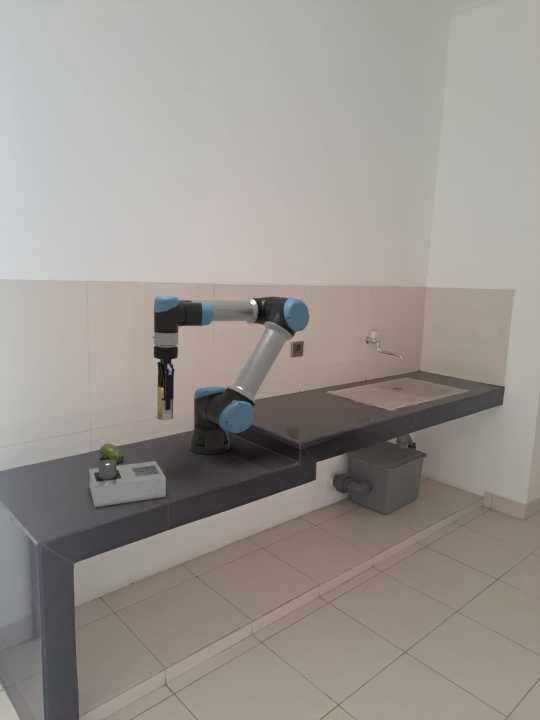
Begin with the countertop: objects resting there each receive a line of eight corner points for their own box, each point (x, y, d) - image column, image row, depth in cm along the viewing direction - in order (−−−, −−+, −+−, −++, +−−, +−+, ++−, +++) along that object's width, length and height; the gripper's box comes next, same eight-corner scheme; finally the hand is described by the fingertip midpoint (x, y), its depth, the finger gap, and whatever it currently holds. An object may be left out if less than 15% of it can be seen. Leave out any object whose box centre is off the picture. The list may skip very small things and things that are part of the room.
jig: (155, 479, 167) (155, 449, 165) (165, 496, 154) (165, 464, 153) (89, 487, 159) (88, 456, 157) (94, 507, 146) (93, 473, 145)
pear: (110, 439, 186) (128, 450, 181) (108, 453, 187) (126, 464, 182) (96, 443, 182) (115, 454, 176) (95, 457, 183) (113, 468, 178)
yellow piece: (171, 415, 172) (171, 385, 171) (174, 419, 168) (174, 388, 166) (155, 416, 170) (156, 386, 169) (158, 420, 166) (159, 389, 164)
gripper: (148, 341, 172) (148, 410, 176) (159, 350, 156) (159, 425, 159) (171, 341, 175) (170, 409, 179) (184, 349, 159) (183, 424, 162)
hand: (165, 416), depth 169 cm, fingers closed on yellow piece, 5 cm apart
